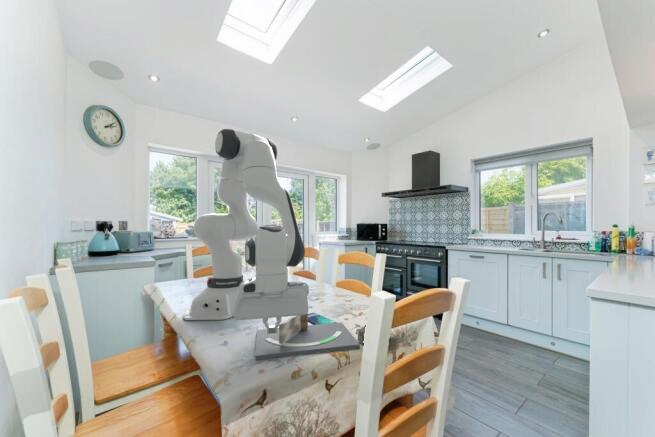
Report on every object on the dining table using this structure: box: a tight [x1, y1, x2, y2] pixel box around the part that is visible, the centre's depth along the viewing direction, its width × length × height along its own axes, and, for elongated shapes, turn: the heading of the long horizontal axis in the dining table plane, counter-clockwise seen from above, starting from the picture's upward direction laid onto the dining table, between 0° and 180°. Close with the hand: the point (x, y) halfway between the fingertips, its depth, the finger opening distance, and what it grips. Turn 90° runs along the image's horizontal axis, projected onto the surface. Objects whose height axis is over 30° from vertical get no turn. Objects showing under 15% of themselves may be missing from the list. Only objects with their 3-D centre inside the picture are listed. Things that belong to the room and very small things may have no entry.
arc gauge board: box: [254, 322, 361, 361], centre depth 82 cm, size 28×18×1 cm, turn 103°
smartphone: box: [308, 312, 338, 325], centre depth 99 cm, size 7×1×15 cm
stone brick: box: [278, 311, 309, 344], centre depth 82 cm, size 15×4×5 cm, turn 158°
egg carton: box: [355, 324, 367, 345], centre depth 82 cm, size 11×8×4 cm
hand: (272, 332), depth 76 cm, fingers closed
